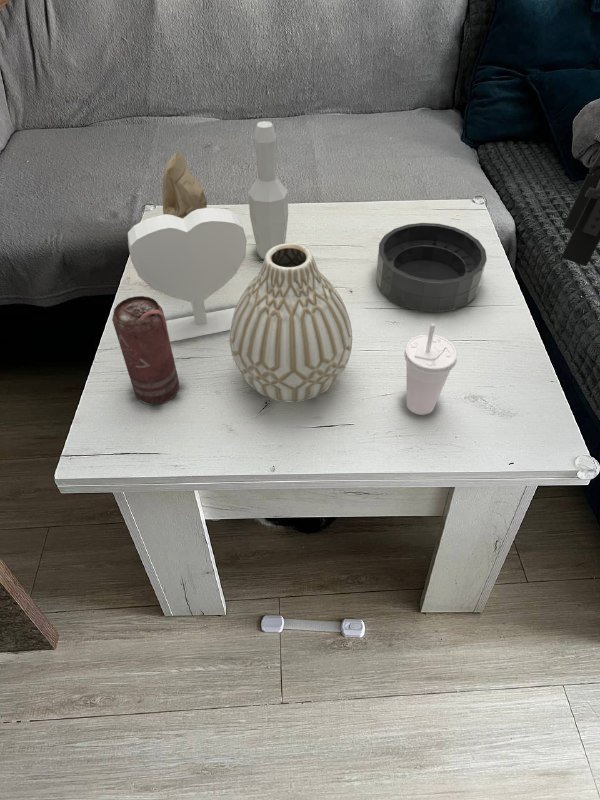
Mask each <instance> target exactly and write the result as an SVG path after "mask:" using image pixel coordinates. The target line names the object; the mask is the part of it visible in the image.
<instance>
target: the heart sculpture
mask: <svg viewBox="0 0 600 800" xmlns="http://www.w3.org/2000/svg"><path fill="white" fill-rule="evenodd" d="M247 242H248V241H247V235H246V233H245V229H244V227H243V224H242V222H241V219H240V217H239V215H238V214H236V213H235V212H233V211H232V210H229V209H224V208H219V207H217V208H216V207H215V208H214V207H207V208H203V209H196V210H194V211H192V212H191V213H189V214H188V215H187V216H186V217H184V218H183V219H182V218H179V217H176V216H174V215H168V214H164V215H163V214H160V215H159V214H158V215H155V216H152V217H148V218H146V219H144V220H142V221H140V222H138V223H136V224H135V225H133V226H132V227H131V228H130V230H129V231H128V232H127V245H128V252H129V257H130V262H131V263H132V266H133V268H134V270H135V273H136V274H137V277H138V278H140V279H141V280H142V281H143V282H144V283H145V284H147V285H148V286H149V287H150V288H151V289H153V290H155V291H157V292H159V293H162V294H164V295H167V296H169V297H170V298H175V299H179V300H182V301H187V302H190V303H191V307H192V314H193V315H191V316H190V315H189V316H185V317H179V318H173V319H168V320H165V321H166V324H167V330H168V335H169V340H170V343H172V342H176V341H182V340H187V339H191V338H192V339H193V338H197V337H202V336H206V335H211V334H217V333H221V332H226V331H227V332H228V331H230V328H231V322H232V318H233V314H234V311H235V308H236V307H231V308H226V309H221V310H216V311H211V312H206V307H205V300H207V298H209V297H211V296H212V295H213V294H215V293H216V292H217V291H220V289H222V288H223V287H225V285H226V284H227V283H228V282H230V281H231V280H232V279H233V277H235V275H237V274H238V271H239V269H240V267H241V266H242V264H243V262H244V261H245V259H246V252H247Z"/></svg>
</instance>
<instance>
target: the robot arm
mask: <svg viewBox="0 0 600 800" xmlns="http://www.w3.org/2000/svg"><path fill="white" fill-rule="evenodd" d="M595 153H596V154H595V156H594V157H592V159H591V165H590V167H589V171H588V173H587V175H586V177H585V179H584V181H583V183H582V185H581V187H580V189H579V191H578V194H577V196H576V198H575V200H574V201H573V205H572V206H571V208H570V210H569V212H568V215H567V217H566V219H565V222H564V223H563V225H562V228H564V229H567V230H570V231H572V233H571V235H570V237H569V239H568V241H567V243H566V245H565V248H564V250H563V251H562V253H561V259H564V260H566V261H569V262H572V263H576V264H579V265H581V266H584V267H587V266H588V264H589V262H591V261H590V260H591V259H592V257H593V254H594V253H595V251H596V249H597V247H598V245H599V243H600V147H598V150H597V152H595Z"/></svg>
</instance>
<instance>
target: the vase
mask: <svg viewBox="0 0 600 800" xmlns="http://www.w3.org/2000/svg"><path fill="white" fill-rule="evenodd" d="M234 308H235V311H234V314H233V318H232V322H231V328H230V330H229V349H230V353H231V356H232V360H233V363H234V365H235V367H236V369H237V371H238V372H239V374H240V376H241V377H242V378H243V379H244V381H245V382H246V383H247V384H248V385H249V386H250V387H251V388H252V389H253V390H255V391H256V392H257V393H259V394H260V395H262V396H264V397H266V398H269V399H272V400H275V401H280V402H284V403H297V402H303V401H308V400H310V399H314V398H316V397H318V396H320V395H322V394H323V393H325V392H326V391H328V390H329V389H330V388H331V387H333V385H334V384H336V383H337V381H338V380H339V378H340V377H341V376H342V374H343V372H344V371H345V369H346V367H347V365H348V362H349V360H350V356H351V352H352V347H353V328H352V324H351V319H350V316H349V312H348V311H347V307H346V304H345V303H344V301H343V299H342V297H341V296H340V293H339V292H338V291H337V289H336V288H335V286H334V285H333V284H332V283H331V282H330V281H329V280H328V278H327V277H326V276H324V274H323V273H321V271H320V270H319V269H318V266H317V264H316V261H315V259H314V256H313V253H312V251H311V250H309V248H307V247H306V246H304V245H302V244H299V243H292V242H291V243H290V242H289V243H288V242H287V243H286V242H285V244H280V245H277V246H275V247H273V248H271V249H270V250H269V251H268V252H267V254H266V256H265V259H263V262H262V265H261V268H260V270H259V272H258V274H257V275H255V277H254V278H253V279H252V280H251V281H250V283H249V284H248V285H247V287H246V288H245V289H244V291H243V292H242V294H241V296H240V298H239V299H238V301H237V304H236V306H235V307H234Z"/></svg>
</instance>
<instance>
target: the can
mask: <svg viewBox="0 0 600 800" xmlns="http://www.w3.org/2000/svg"><path fill="white" fill-rule="evenodd" d="M111 321H112V324H113V328H114V331H115V333H116V337H117V340H118V343H119V347H120V350H121V353H122V357H123V360H124V364H125V367H126V370H127V373H128V377H129V380H130V384H131V386H132V390H133V393H134V396H135V397H136V398H137V399H138V400H139V401H141V402H143V403H145V404H148V405H152V406H153V405H161V404H164V403H167V402H168V401H170V400H172V399H173V398H174V397H175V395H176V394H177V392H178V390H179V388H180V381H179V376H178V371H177V366H176V363H175V362H176V361H175V358H174V353H173V349H172V343H171V342H170V340H169V335H168V330H167V324H166V321H167V320H166V317H165V312H164V309H163V307H162V306H161V305H160V304H159V302H158V301H156V299H154V298H151V297H149V296H145V295H139V296H138V295H137V296H131V297H128V298H126V299H123V300H122V301H120V302H119V303H118V304H116V306H115V307H114V309H113V313H112V319H111Z"/></svg>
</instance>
